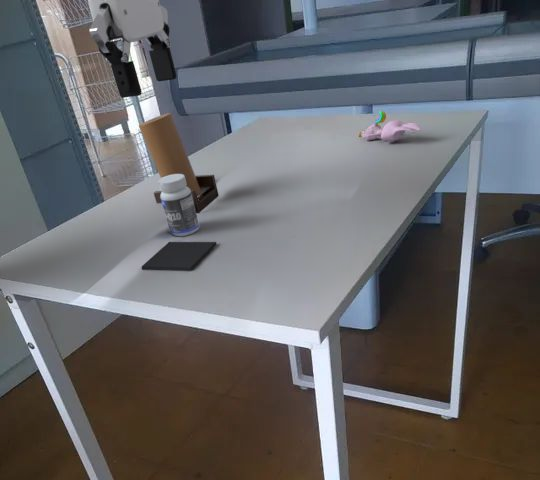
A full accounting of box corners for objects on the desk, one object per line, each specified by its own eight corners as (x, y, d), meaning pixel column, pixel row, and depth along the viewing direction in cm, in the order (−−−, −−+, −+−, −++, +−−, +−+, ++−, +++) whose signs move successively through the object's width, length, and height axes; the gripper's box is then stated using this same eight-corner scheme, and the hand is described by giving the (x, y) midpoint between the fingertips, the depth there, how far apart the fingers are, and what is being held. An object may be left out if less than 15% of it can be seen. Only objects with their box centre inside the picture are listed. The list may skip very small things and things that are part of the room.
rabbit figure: (353, 149, 111) (406, 145, 99) (348, 118, 109) (402, 110, 96) (376, 140, 114) (431, 135, 101) (371, 109, 111) (427, 101, 99)
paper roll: (132, 128, 88) (159, 119, 85) (149, 118, 92) (176, 110, 89) (167, 210, 95) (193, 204, 92) (182, 198, 99) (208, 192, 96)
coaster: (142, 269, 77) (141, 266, 76) (170, 244, 82) (169, 241, 82) (191, 270, 74) (190, 267, 73) (216, 244, 79) (216, 241, 79)
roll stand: (159, 214, 95) (153, 192, 92) (181, 196, 100) (175, 176, 98) (198, 213, 92) (193, 191, 89) (218, 195, 97) (214, 174, 95)
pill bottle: (164, 235, 86) (149, 182, 81) (185, 223, 89) (171, 171, 84) (185, 238, 83) (170, 184, 78) (206, 226, 86) (193, 173, 81)
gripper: (121, -61, 74) (158, 77, 84) (38, -56, 62) (92, 106, 71) (168, -74, 71) (200, 71, 81) (91, -71, 59) (140, 100, 69)
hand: (150, 87), depth 76 cm, fingers open, 9 cm apart
